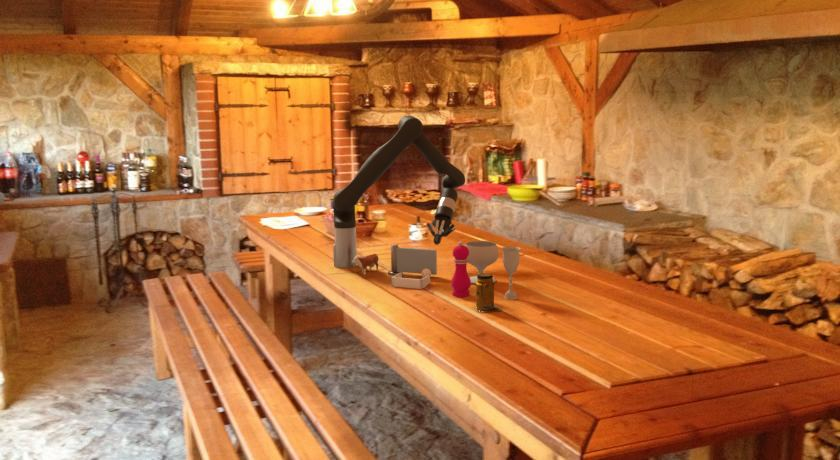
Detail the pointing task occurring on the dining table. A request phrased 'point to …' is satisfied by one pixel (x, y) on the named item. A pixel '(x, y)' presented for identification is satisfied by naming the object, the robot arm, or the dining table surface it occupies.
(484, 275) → the condiment
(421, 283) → the pocket
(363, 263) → the bull figurine
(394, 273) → the lever base
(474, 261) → the chalice
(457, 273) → the pepper mill
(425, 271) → the ball
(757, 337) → the dining table surface
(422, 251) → the paddle
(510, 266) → the chalice
